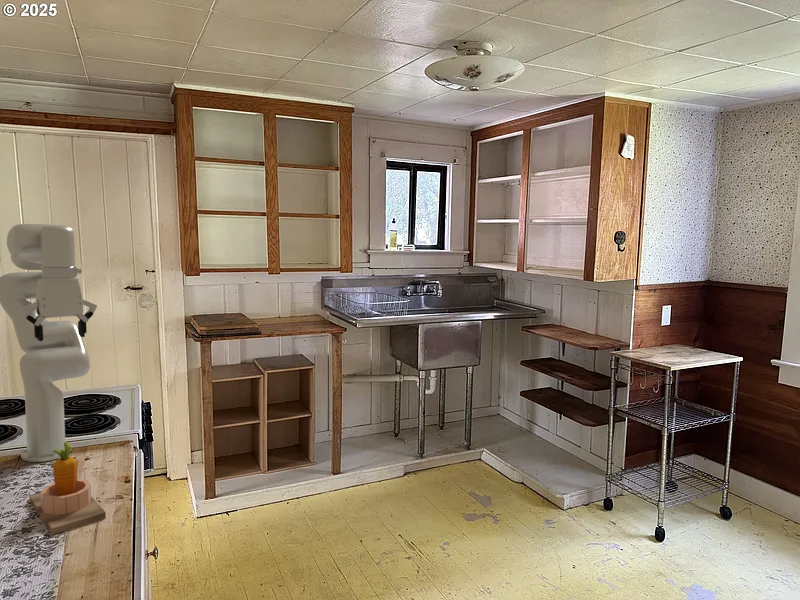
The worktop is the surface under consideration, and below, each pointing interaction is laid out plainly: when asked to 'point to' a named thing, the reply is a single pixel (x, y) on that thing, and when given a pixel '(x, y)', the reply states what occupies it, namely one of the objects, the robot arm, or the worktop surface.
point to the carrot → (65, 471)
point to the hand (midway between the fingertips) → (61, 338)
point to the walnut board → (68, 516)
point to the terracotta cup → (65, 498)
